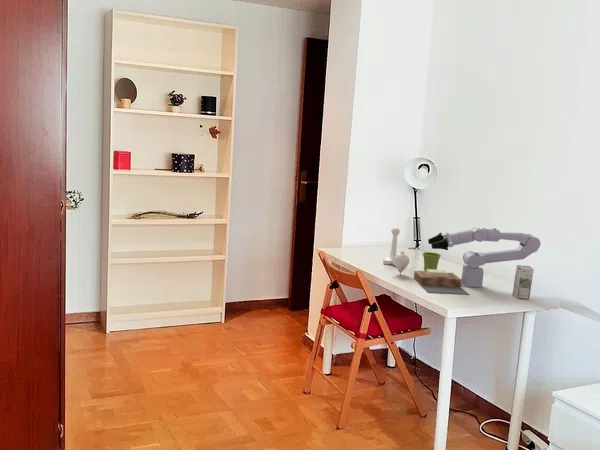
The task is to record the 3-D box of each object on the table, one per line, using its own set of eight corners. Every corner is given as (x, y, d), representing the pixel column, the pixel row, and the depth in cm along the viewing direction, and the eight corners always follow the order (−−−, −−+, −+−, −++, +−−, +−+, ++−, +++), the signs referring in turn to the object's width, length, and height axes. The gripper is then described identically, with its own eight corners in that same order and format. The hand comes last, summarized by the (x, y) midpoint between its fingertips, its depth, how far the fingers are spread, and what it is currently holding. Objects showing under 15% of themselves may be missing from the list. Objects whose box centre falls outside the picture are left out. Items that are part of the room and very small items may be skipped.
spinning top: (396, 276, 304) (398, 252, 302) (389, 272, 312) (392, 249, 310) (410, 276, 307) (413, 252, 305) (403, 272, 314) (406, 249, 312)
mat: (460, 287, 292) (460, 287, 292) (469, 294, 280) (469, 294, 280) (420, 285, 290) (420, 285, 290) (428, 292, 278) (428, 292, 278)
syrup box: (524, 296, 285) (528, 265, 283) (529, 299, 279) (534, 268, 277) (512, 295, 285) (516, 264, 282) (517, 299, 279) (521, 267, 277)
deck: (451, 280, 304) (452, 272, 304) (460, 287, 292) (461, 279, 291) (413, 278, 303) (414, 270, 302) (420, 285, 290) (421, 277, 289)
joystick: (401, 266, 329) (405, 228, 325) (389, 266, 325) (393, 228, 322) (389, 261, 338) (393, 225, 335) (378, 261, 335) (381, 225, 332)
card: (444, 274, 299) (444, 270, 299) (448, 277, 293) (448, 273, 293) (425, 273, 298) (426, 269, 298) (429, 276, 293) (429, 272, 292)
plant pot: (427, 272, 318) (429, 256, 316) (417, 268, 326) (419, 252, 325) (442, 272, 321) (444, 256, 320) (432, 268, 330) (434, 252, 328)
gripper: (453, 226, 300) (425, 231, 301) (461, 234, 287) (431, 240, 287) (455, 240, 302) (428, 245, 303) (463, 248, 288) (434, 254, 289)
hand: (430, 244), depth 295 cm, fingers open, 7 cm apart
